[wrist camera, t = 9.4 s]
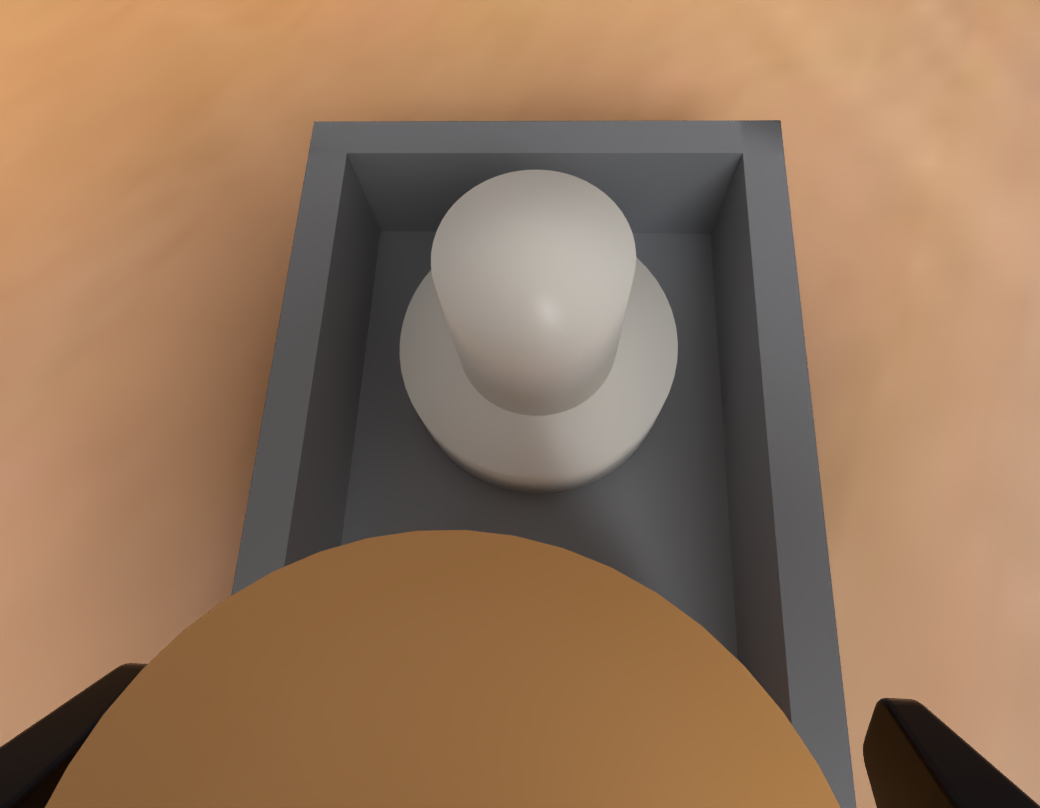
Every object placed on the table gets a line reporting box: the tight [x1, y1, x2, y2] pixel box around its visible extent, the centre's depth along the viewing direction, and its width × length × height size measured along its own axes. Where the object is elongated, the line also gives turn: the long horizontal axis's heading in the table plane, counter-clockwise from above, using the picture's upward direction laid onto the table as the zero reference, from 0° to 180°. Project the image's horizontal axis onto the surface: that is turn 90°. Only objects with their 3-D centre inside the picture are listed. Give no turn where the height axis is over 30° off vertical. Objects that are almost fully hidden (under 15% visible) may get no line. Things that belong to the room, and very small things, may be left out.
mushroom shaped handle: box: [45, 530, 841, 808], centre depth 10 cm, size 7×7×13 cm
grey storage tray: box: [231, 120, 856, 808], centre depth 15 cm, size 20×12×7 cm, turn 178°
